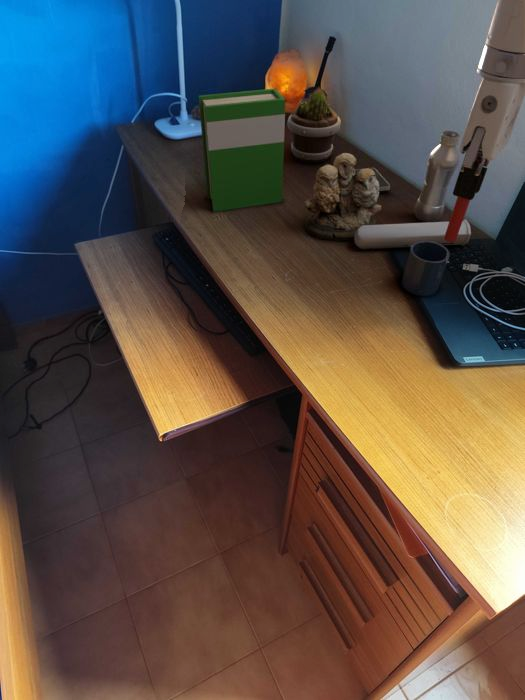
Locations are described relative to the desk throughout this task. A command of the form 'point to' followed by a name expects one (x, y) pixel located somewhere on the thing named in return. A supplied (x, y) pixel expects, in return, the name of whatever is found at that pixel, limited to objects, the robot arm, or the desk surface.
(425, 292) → the tumbler
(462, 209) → the red cylindrical rod
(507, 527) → the desk surface
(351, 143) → the desk surface
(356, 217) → the owl figurine
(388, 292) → the desk surface
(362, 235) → the tube
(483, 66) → the robot arm
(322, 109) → the flowerpot
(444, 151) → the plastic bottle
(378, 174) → the external hard drive
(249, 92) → the hardback book
